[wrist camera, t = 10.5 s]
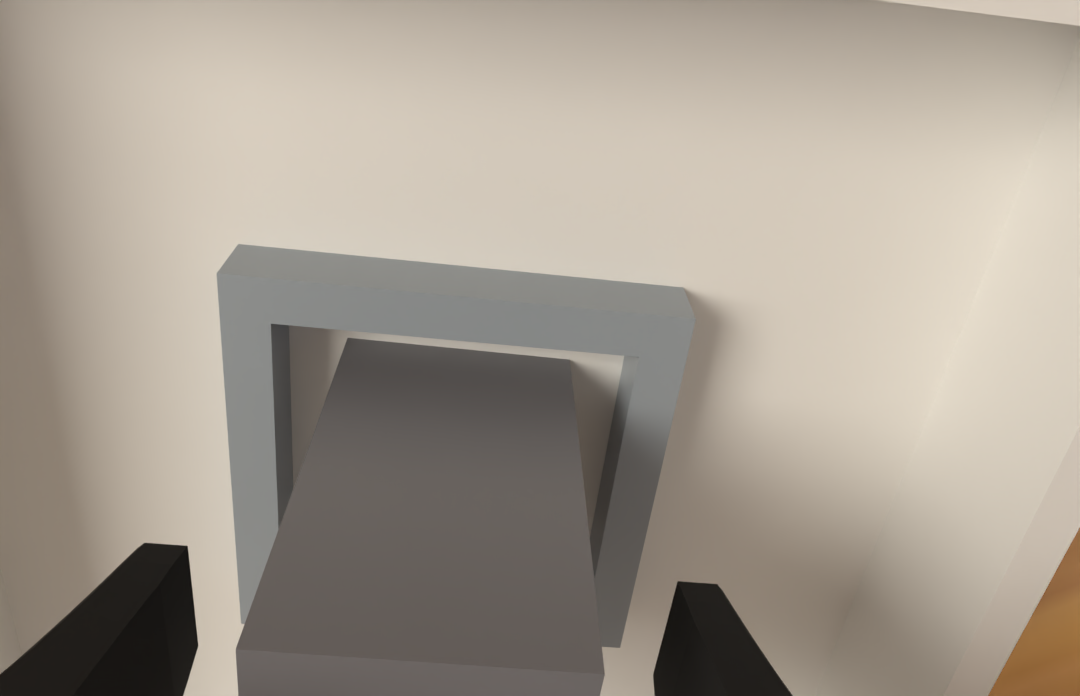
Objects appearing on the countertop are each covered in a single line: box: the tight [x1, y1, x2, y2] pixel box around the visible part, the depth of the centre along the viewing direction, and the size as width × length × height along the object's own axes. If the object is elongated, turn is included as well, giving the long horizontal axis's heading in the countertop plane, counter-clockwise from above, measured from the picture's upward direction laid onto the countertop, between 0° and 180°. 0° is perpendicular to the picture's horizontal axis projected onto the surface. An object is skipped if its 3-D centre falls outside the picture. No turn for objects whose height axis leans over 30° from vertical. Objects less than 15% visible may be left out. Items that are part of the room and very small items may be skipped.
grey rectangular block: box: [236, 338, 605, 696], centre depth 13 cm, size 4×4×7 cm
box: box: [0, 0, 1080, 696], centre depth 15 cm, size 20×20×4 cm
